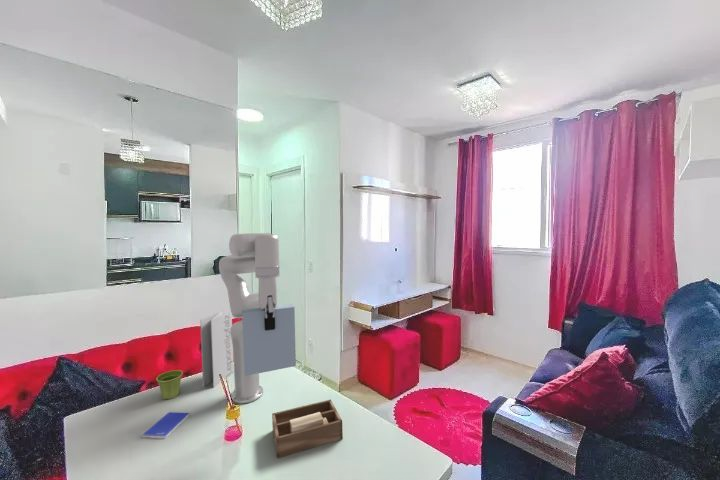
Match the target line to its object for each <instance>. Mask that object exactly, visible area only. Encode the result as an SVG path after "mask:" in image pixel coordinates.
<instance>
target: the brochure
mask: <svg viewBox="0 0 720 480" xmlns="http://www.w3.org/2000/svg"><path fill="white" fill-rule="evenodd" d="M199 322H200V343H201V367H202V368H201V369H202V372H201V373H202V386H203V387H205V386H207V385H209V383H211V382H212V388H216V387H217V386H218V385H219V384H221V383H222V382H220V379H219V374H221V375H222V377H223V378H224V380H226V379H227V378H228V377H230V376H231V375H232V374H233V373H234V354H233V345H232V340H231V335H230V329H231V326H232V325H233V316H232V313H231V310H230V311H229V312H226V313H224V314H223V310H220V311H218V312H215V313H213V314H211V315H210V314H209V316H206V317H204V318H203V317H202V319H200V320H199Z"/></svg>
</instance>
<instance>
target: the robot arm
mask: <svg viewBox="0 0 720 480" xmlns="http://www.w3.org/2000/svg"><path fill="white" fill-rule="evenodd" d="M228 249H229V252H230V254H231V255H226V256H223V257H221V258H220V259H219V263H218V270H219V275H220V277H221V280H222V282H223V283H224V285H225V287H226V290H227V296H228V302H229V309H230V311H231V313H232V318H234V319H242V320H239V321H236V322H234V323H232V326H231V329H230V335H231V340H232V345H233V365H234V372H233V373H234V374H233V376H234V390H233V391H232V393H231V395H230V399H231V398H232V400H233V401H232V400H231V401H232V402H233V403H235V404H248V403H251V402H254V401H257V400H258V399H260V398H261V397H262V396H263V394H264V388H263V387H262V385H260V373H258V374H253V375H248V376H245V374H244V349H243V318H242V310H246V309H254V308H260V309H262V310H263V308H265V318H264V323H265V331H267V330H274V329H275V317H274V308H276V306H278V305H277V302H278V299H277V298H278V295H277V293H278V292H277V291H278V289H277V288H278V287H277V278H278V277H280V276H281V275H280V273H281V272H280V243H279V236H278V235H277V234H272V233H268V232H263V233H262V232H261V233H237V234H232V235H231V237H230V238H229V241H228ZM251 273H253V274H255V278H256V279H258V286H257V287H258V288H257V289H258V292H256V293H251V292H250V288H249V285H248V282H247V281H246V280H245V279H244V278H242V277H241V276H239V275H241V274H242V275H243V274H251ZM238 274H239V275H238ZM266 307H268V308H266ZM267 310H268V311H267Z"/></svg>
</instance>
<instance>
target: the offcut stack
mask: <svg viewBox="0 0 720 480" xmlns="http://www.w3.org/2000/svg"><path fill="white" fill-rule="evenodd" d="M327 423H328V421H327V419H326V417H325V418H323V417H322V415H321V413H320V412H318V413H314V414H310V415H307V416H303V417H300V418H296V419H292V420H290V433H294V432H297V431H301V430H305V429H309V428H312V427H316V426H320V425H323V424H327Z"/></svg>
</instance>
